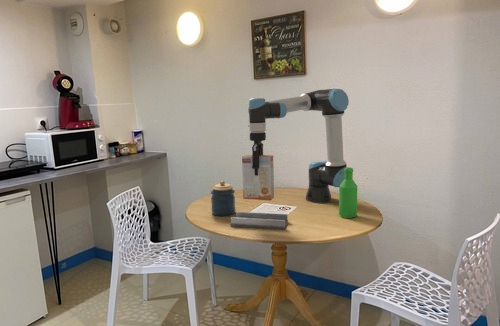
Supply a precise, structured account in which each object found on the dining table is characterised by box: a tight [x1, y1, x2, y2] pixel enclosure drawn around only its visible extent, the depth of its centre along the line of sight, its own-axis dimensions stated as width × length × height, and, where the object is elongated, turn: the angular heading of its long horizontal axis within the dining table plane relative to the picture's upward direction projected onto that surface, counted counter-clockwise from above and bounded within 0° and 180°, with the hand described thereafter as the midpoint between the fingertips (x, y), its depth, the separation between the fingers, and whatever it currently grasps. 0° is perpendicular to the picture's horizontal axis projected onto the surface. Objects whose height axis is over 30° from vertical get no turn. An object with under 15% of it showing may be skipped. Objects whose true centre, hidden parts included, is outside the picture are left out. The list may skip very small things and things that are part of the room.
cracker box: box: [241, 154, 275, 201], centre depth 164 cm, size 14×6×21 cm, turn 71°
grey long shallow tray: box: [230, 211, 289, 231], centre depth 167 cm, size 26×12×4 cm, turn 76°
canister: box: [210, 180, 236, 217], centre depth 185 cm, size 13×13×18 cm
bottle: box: [338, 167, 358, 219], centre depth 174 cm, size 9×9×25 cm
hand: (258, 180), depth 164 cm, fingers closed on cracker box, 6 cm apart
